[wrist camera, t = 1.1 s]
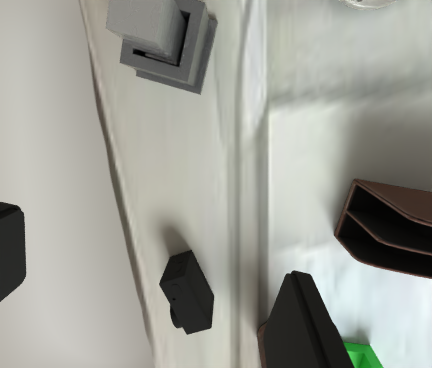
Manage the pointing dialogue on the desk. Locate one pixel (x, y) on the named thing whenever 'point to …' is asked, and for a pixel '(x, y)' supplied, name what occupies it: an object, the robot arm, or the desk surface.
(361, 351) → the mechanical part
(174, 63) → the column
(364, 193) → the letter holder
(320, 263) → the desk surface
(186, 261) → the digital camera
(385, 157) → the desk surface
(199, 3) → the stand base
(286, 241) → the desk surface
